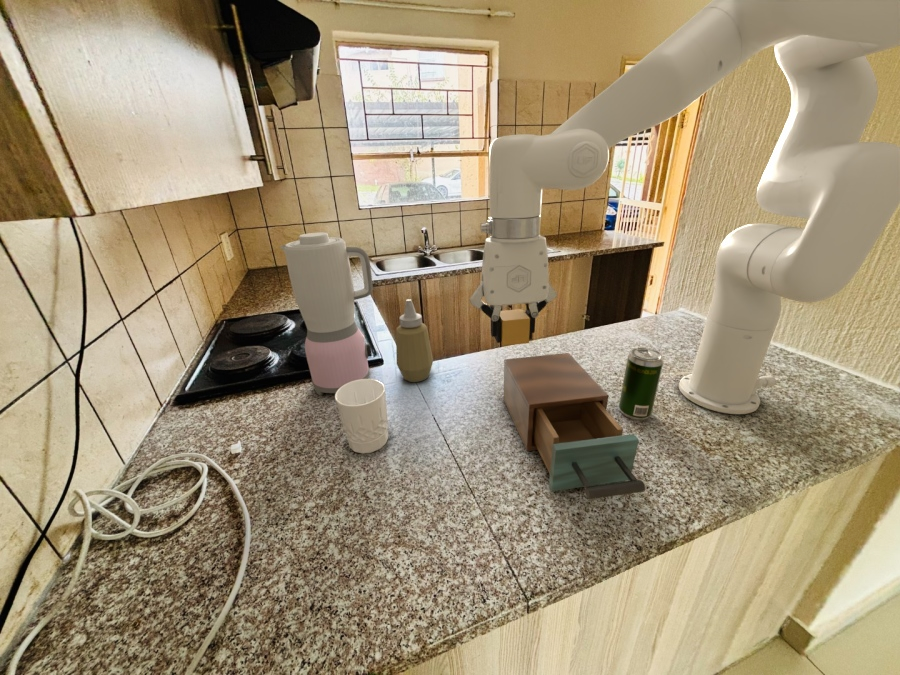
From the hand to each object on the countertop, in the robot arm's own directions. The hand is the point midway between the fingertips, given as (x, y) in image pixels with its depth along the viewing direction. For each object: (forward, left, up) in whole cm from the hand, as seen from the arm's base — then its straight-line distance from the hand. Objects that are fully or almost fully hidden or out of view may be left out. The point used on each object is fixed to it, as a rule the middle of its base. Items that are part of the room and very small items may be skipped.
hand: (512, 337), depth 62 cm
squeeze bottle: (+17, -16, -15) cm, 28 cm away
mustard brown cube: (0, 0, 0) cm, 0 cm away
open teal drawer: (-6, +16, -14) cm, 22 cm away
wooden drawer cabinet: (-6, +4, -15) cm, 17 cm away
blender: (+32, -17, -15) cm, 39 cm away
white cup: (+26, +4, -15) cm, 31 cm away
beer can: (-22, +5, -15) cm, 27 cm away
